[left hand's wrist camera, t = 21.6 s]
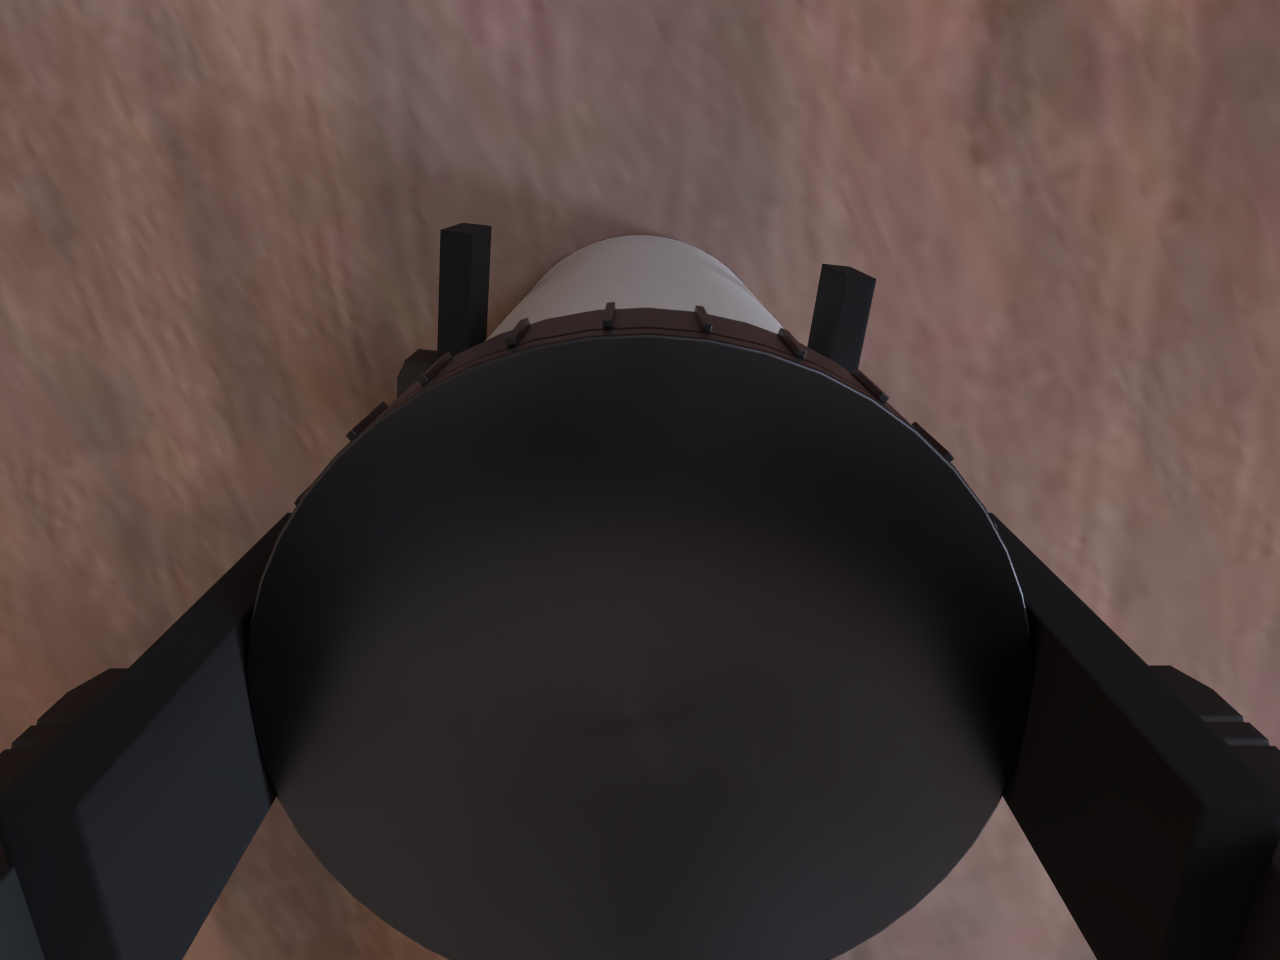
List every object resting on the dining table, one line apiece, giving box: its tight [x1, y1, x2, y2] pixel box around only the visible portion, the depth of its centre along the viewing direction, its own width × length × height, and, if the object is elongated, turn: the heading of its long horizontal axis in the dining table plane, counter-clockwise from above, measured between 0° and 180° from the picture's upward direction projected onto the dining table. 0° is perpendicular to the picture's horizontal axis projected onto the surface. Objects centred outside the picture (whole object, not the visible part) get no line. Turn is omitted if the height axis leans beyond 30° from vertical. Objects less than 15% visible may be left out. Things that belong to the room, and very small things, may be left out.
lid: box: [247, 302, 1032, 960], centre depth 11 cm, size 10×10×2 cm
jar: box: [485, 235, 784, 341], centre depth 20 cm, size 9×9×18 cm
